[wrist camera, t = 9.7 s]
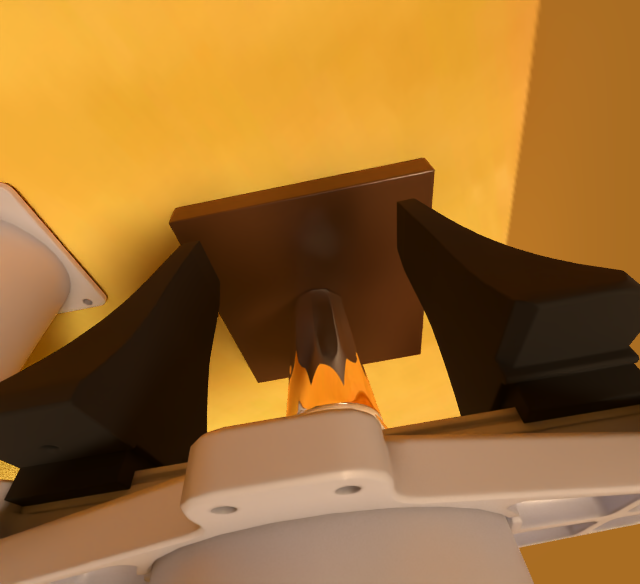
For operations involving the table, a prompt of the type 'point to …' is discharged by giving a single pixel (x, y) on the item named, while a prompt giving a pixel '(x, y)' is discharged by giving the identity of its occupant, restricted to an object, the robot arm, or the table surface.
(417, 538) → the robot arm
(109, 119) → the table surface
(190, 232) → the board
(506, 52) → the table surface
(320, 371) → the milkshake
